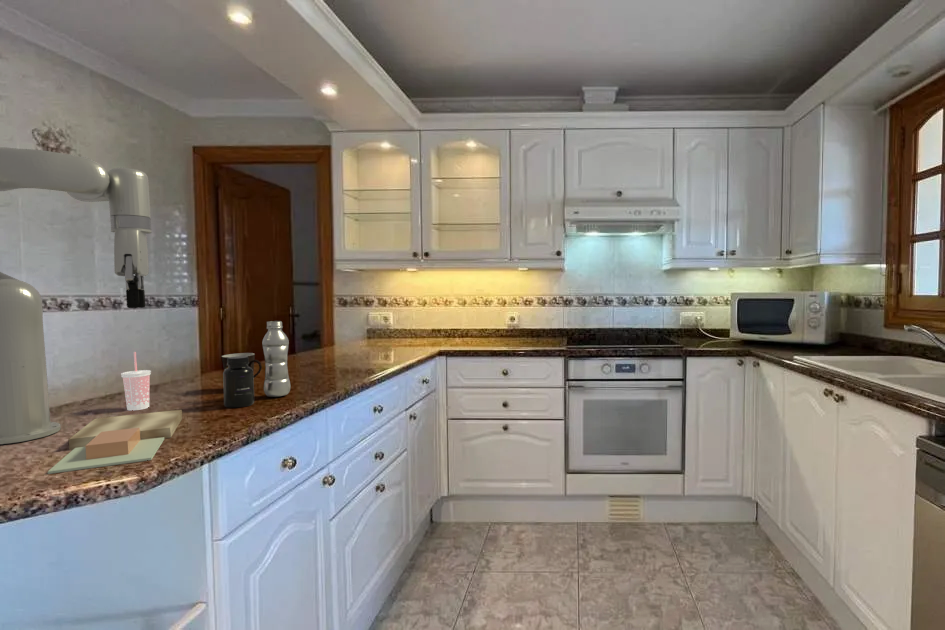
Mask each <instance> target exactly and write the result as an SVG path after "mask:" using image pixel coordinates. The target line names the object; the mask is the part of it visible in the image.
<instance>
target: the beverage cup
mask: <svg viewBox="0 0 945 630" xmlns="http://www.w3.org/2000/svg"><path fill="white" fill-rule="evenodd" d="M133 361H134V362H133V363H134V364H133V365H134V370H130V371H129V370H128V371H124V372H121V373H120V375H121V378H122V380H123V381H122V382H123V389H124V397H125V403H126V410H127V411H132V410H133V411H139V410H145V409H146V410H147V409H148V407H149V408H150V380H151V379H150V375H151V374H152V370H150V369H143V370H142V369H139V370H138V363H137V352H136V351H133Z"/></svg>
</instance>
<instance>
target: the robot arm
mask: <svg viewBox="0 0 945 630" xmlns="http://www.w3.org/2000/svg"><path fill="white" fill-rule="evenodd" d="M149 185H150V184H149V177H148V175H147V173H146V172H144V171H143V170H140V169H136V168H130V167H115V168H111V169H109V171H108V170H107V169H106V168H105V167H104V166H103V165H102V164H101V163H99V162H97V161H96V160H94V159H91V158H89V157H86V156H80V155H73V154H69V153H62V152H56V151H48V150H42V149H32V148H31V149H30V148H17V147H16V148H13V147H1V146H0V192H8V191H12V190H17V189H18V190H21V189H38V190H39V189H40V190H49V191H57V192H66V194H68V195H69V196H70V197H71V198H73V199H74V200H76V201H81V202H88V203H94V202H97V203H98V202H109V203H108V204H109V216H110V217H109V219H110V221H109V222H110V232H112V233H114V240H113V242H114V243H113V255H114V256H113V259H114V260H113V261H114V265H113V266H114V268H113V270H114V274H115V275H116V276H118V277H124V279H125V281H124V282H125V289H126V290H125V294H126V296H125V297H126V308H128V309H140V308H143V309H144V308H145V307H146V295H145V294H146V292H145V282H144V278H145V277H146V276H148V275H149V271H150V270H149V269H150V268H149V265H150V264H149V251H148V240H147V239H148V238H147V234H149V235H150V234H152V220H151V219H152V217H151V216H152V215H151V201H150V199H151V198H150V186H149ZM43 312H44V311H43V298H42V296H41V294H40V292H39V291H38V290H37V289H36V288H35V286H33V285H31V284H29V283H28V282H25V281H23V280H20V279H17V278H15V277H13V276H11V275H8V274H6V273H3V272H2V271H0V445H8V444H17V443H20V442H26V441H31V440H36V439H41V438H44V437H47V436H51V435H53V434H56V433H58V432H59V431H60V430H61V427H62V426H61V424H60V423H59V422H56V421H51V413H50V412H51V411H50V398H49V386H48V385H49V384H48V383H49V382H48V372H47V370H48V369H47V361H46V360H47V358H46V346H45V344H46V343H45V333H44V318H43Z"/></svg>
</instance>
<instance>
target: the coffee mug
mask: <svg viewBox="0 0 945 630" xmlns="http://www.w3.org/2000/svg"><path fill="white" fill-rule="evenodd" d="M255 355H256V354H255V353H253V352H240V353H230V354H224V355H221V360H222V361H221V362H222V366H223V371H224V370H225V369H227V368H228V365H227V358H229V357H236V356H247V357H248V358H249V364H248V367H250V368H252V370H253V372H254V369H255V363H257V364H258V367H259V369H258V371H257V372H256V373H255V374H253V377H254V379H255V378H256V377H257V376H258V375H259V374H260V373H261V371H262V367H263V365H262V363H261V362H260V361H259V360H258V359H255V357H256V356H255Z"/></svg>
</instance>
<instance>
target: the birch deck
mask: <svg viewBox="0 0 945 630" xmlns="http://www.w3.org/2000/svg"><path fill="white" fill-rule="evenodd" d="M182 420H183V410H182V409H176V410H175V409H173V410H165V411H154V412H146V413H136V414H126V415H125V414H124V415H116V416H115V415H114V416H109V417H108V416H107V417H98V418H94V419H93V420H91V421H90V422H89V423H87V424H86V425H85V426H83V428H81V429H80V430H78V431H77V432H76V433H75V434H74V435H71V437H70V438H69V439H68V449H69V451H72V450H73V449H74V448H78V447H85V446H86V445H87V444H88V443H89V442H90V441H91V440H93V439H94V438H95V437H96V436H97V435H98V434H100V433H101V432H104V431H113V430H122V429H131V428H140V440H144V439H152V438H161V437H164V439H169V438H170V439H171V438H172V436H173V435H174V433H175V431H176V430H177V428H178V426H179V425H180V423H181V421H182Z"/></svg>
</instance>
